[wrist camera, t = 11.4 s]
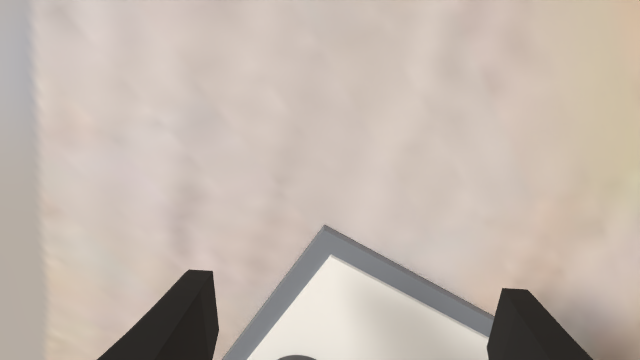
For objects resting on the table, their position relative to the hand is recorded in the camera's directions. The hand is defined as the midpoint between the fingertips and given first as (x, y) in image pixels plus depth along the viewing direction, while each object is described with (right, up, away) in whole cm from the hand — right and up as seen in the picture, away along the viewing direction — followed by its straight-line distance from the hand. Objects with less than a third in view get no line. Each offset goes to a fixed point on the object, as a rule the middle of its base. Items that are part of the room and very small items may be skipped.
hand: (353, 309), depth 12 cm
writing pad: (+1, -8, +15) cm, 17 cm away
